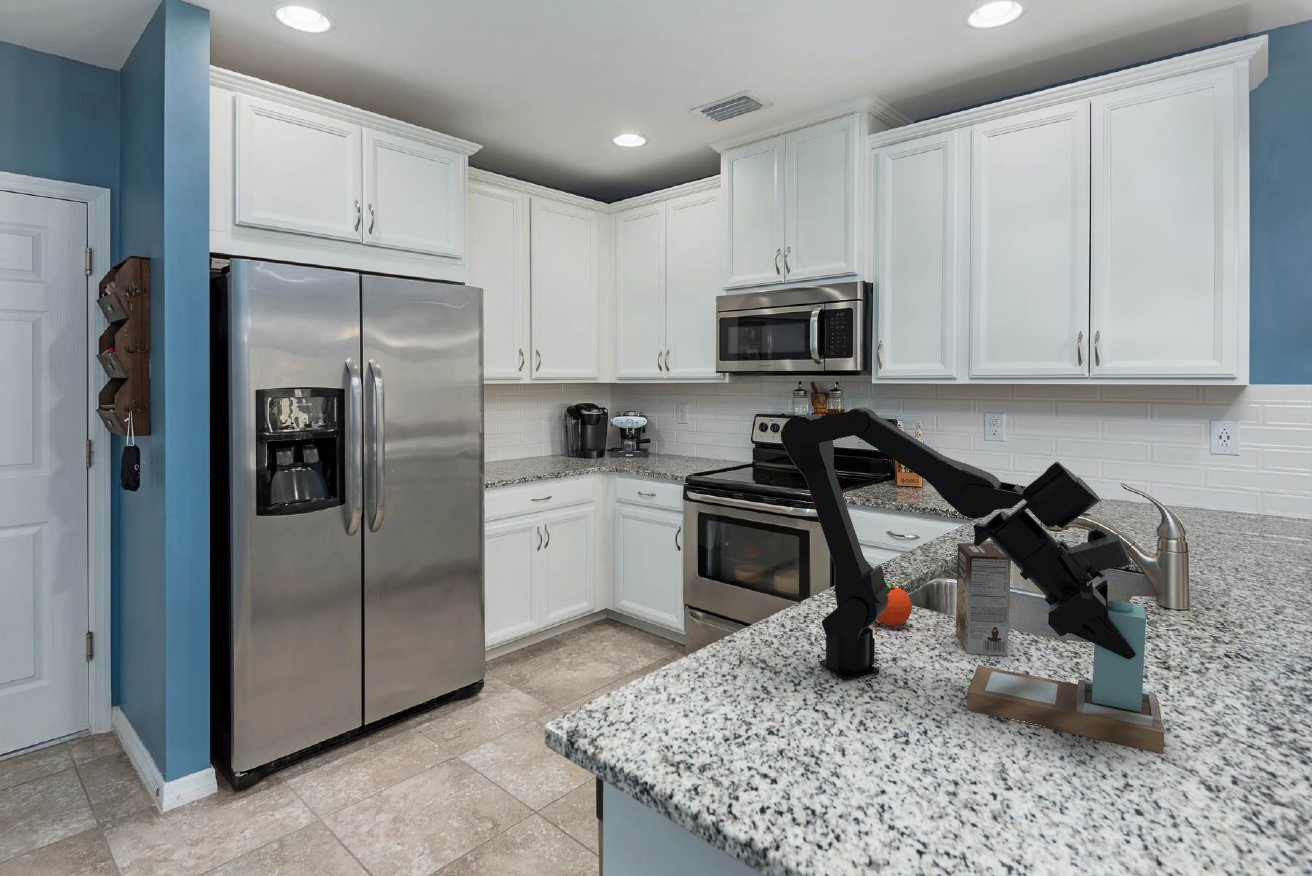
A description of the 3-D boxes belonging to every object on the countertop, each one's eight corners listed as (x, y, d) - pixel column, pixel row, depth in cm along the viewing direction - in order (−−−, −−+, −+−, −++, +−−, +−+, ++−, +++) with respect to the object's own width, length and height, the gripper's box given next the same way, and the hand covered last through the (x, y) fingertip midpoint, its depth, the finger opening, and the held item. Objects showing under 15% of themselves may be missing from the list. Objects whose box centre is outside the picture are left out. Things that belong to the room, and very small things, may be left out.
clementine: (858, 620, 127) (858, 581, 127) (887, 614, 130) (888, 577, 130) (890, 634, 120) (890, 593, 119) (920, 627, 123) (921, 588, 122)
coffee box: (954, 634, 120) (956, 541, 118) (994, 636, 118) (996, 543, 117) (966, 654, 111) (969, 554, 109) (1010, 657, 109) (1013, 556, 108)
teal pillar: (1092, 702, 86) (1096, 605, 85) (1092, 687, 90) (1096, 595, 90) (1141, 712, 84) (1146, 612, 83) (1139, 696, 88) (1143, 601, 87)
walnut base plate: (966, 709, 92) (967, 684, 92) (977, 682, 100) (978, 658, 100) (1163, 753, 81) (1164, 724, 80) (1157, 718, 89) (1158, 691, 89)
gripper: (1085, 524, 79) (1202, 637, 74) (1087, 500, 95) (1184, 592, 90) (1006, 581, 84) (1111, 691, 79) (1020, 550, 100) (1108, 640, 95)
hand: (1131, 649), depth 86 cm, fingers closed on teal pillar, 5 cm apart
